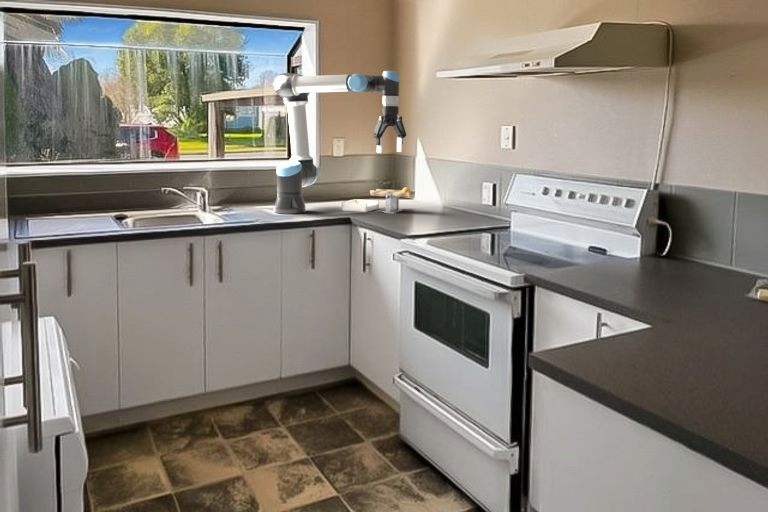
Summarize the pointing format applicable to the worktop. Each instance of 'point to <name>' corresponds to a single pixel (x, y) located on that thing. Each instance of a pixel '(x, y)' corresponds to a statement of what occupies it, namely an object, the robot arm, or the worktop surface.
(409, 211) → the worktop surface
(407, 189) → the ball
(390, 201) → the stand
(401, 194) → the lever
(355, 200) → the dish
